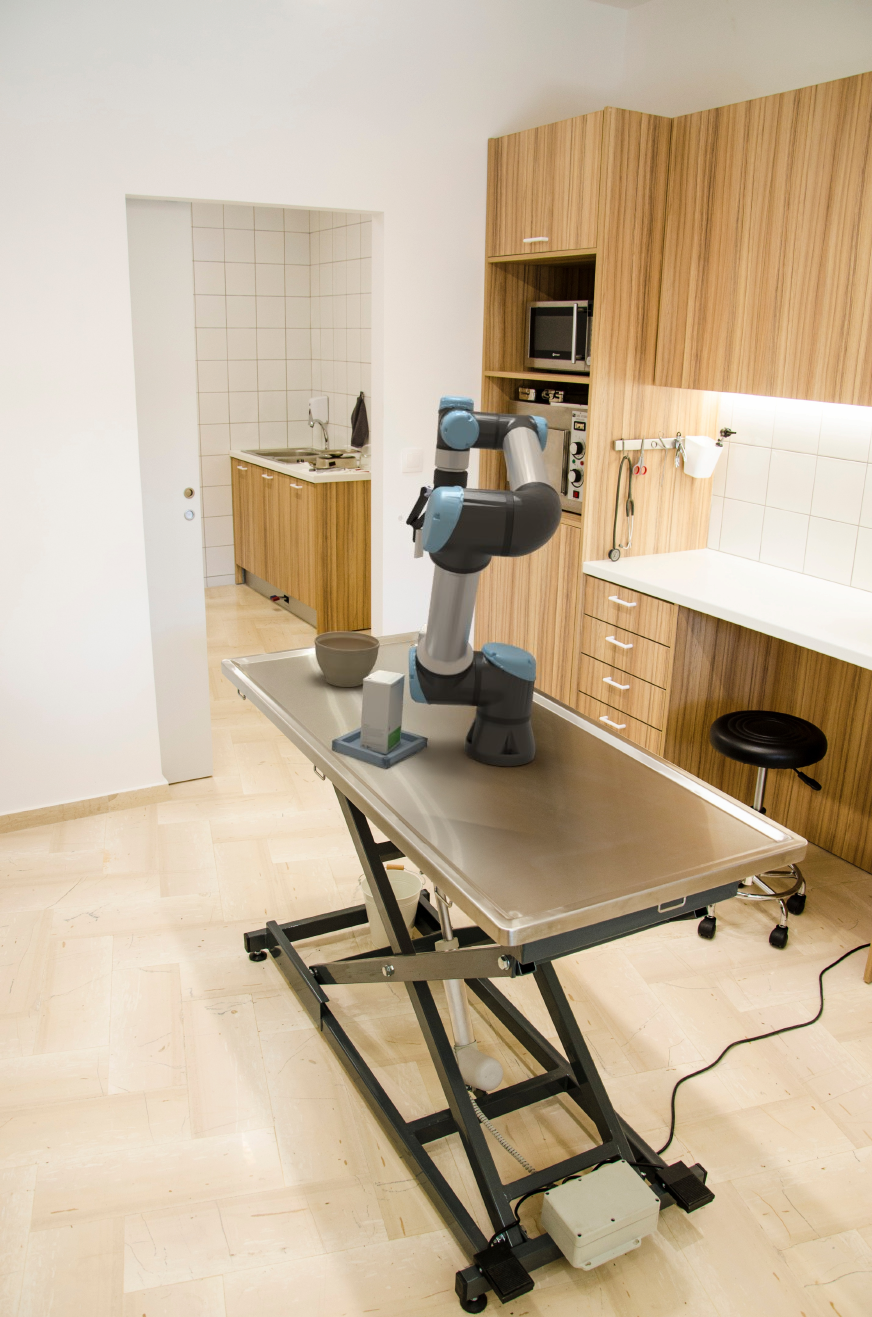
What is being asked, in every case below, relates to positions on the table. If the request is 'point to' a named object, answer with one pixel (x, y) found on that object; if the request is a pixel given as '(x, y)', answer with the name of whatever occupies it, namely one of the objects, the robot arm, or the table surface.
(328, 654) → the planter bowl
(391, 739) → the skincare box
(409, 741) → the tray
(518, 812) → the table surface
